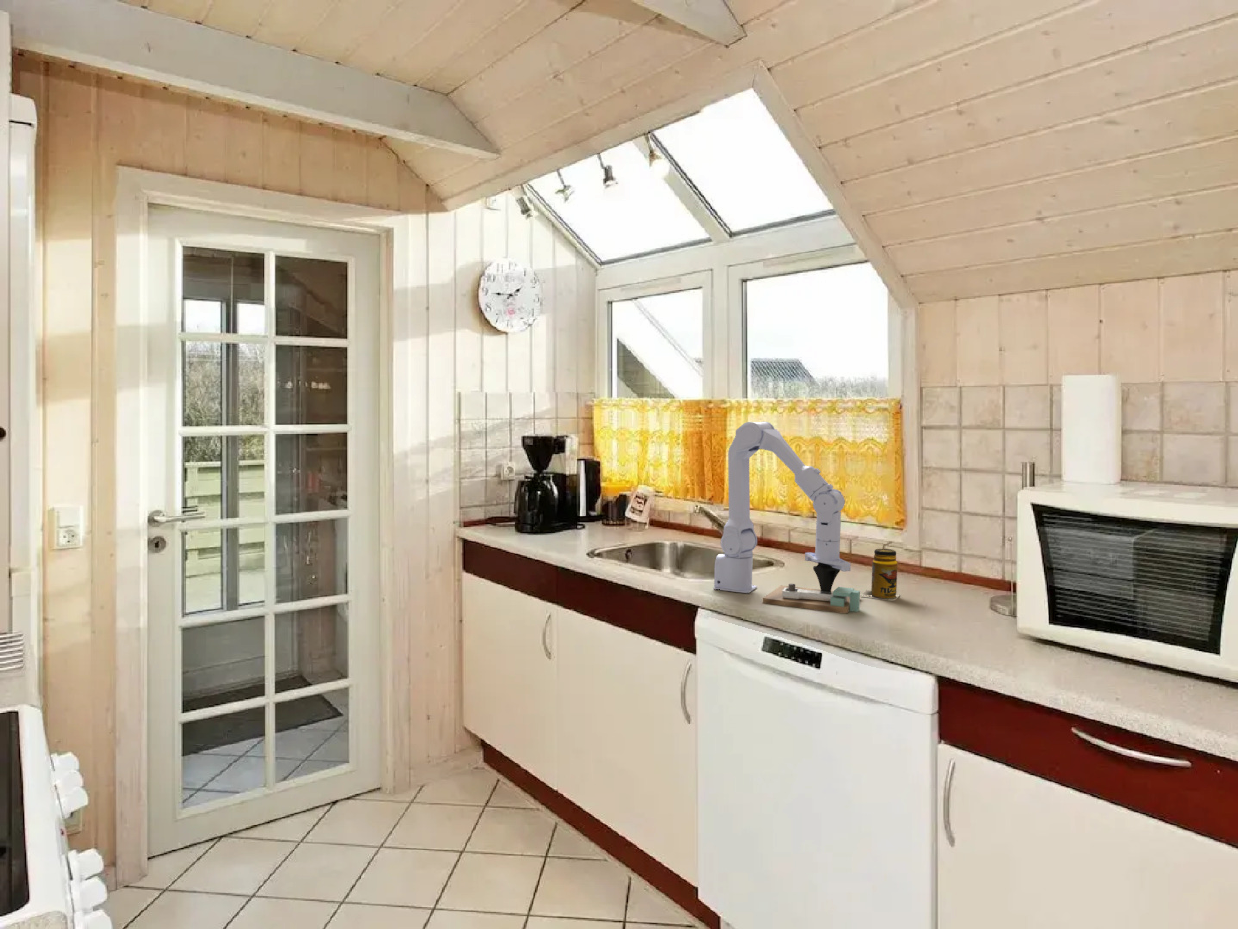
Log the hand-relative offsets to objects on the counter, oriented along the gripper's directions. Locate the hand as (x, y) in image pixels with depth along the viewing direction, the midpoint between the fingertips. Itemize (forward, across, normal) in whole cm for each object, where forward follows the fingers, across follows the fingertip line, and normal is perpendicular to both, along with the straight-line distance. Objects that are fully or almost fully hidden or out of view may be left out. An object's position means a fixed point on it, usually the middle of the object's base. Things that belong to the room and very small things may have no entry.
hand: (825, 595), depth 191 cm
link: (0, 0, -4) cm, 4 cm away
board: (+2, -3, -2) cm, 4 cm away
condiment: (+2, 0, +18) cm, 18 cm away
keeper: (+2, +7, 0) cm, 7 cm away
